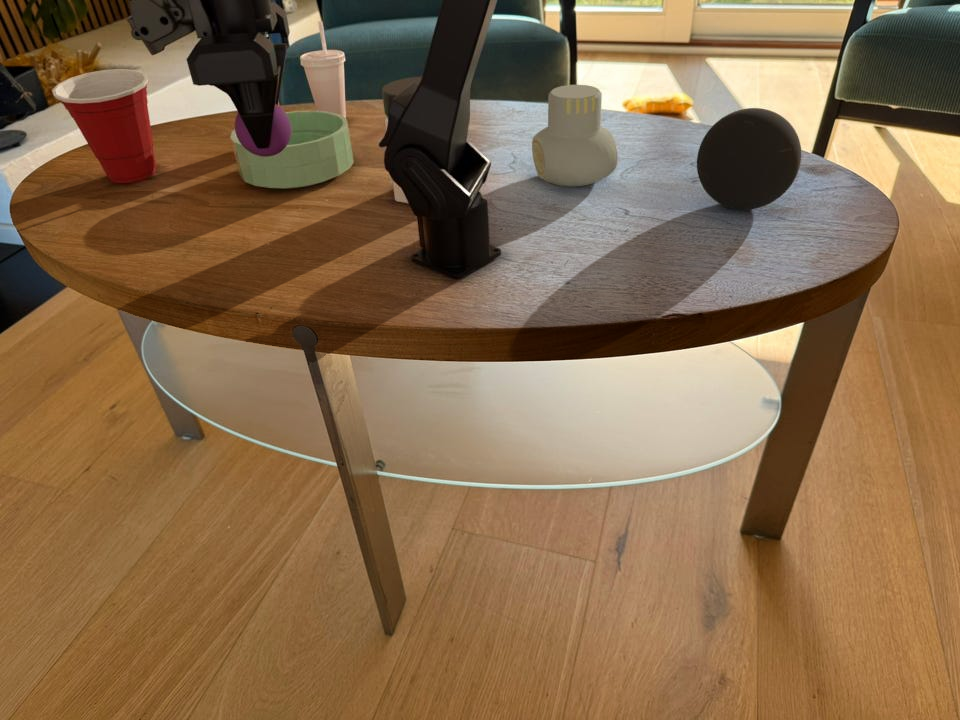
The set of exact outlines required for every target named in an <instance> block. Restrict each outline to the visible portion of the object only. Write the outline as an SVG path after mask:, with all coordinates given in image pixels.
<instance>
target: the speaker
mask: <svg viewBox="0 0 960 720" xmlns="http://www.w3.org/2000/svg"><path fill="white" fill-rule="evenodd" d="M696 157H697V158H696V171H697V176H698V179H699V182H700V184H701V187H702V188H703V189H704V191H705V193H707V195H708V196H709V197H710V198H711V199H712V200H714V201H715V202H717V203H718V204H720V205H721V206H724V207H726V208H729V209H733V210H741V211H745V210H746V211H748V210H755V209H759V208H762V207H766V206H767V205H769V204H772V203H773V202H775V201H776V200H778V199H779V198H780V197H781V196H783V195H784V194H785V193H786V192H787V191H788V190H789V189H790V187H791V186H792V184H793V183H794V182H795V179H796V177H797V175H798V174H799V173H798V172H799V171H800V167H801V163H802V145H801V141H800V138H799V135H798V133H797V131H796V129H795V128H794V127H793V125H792V124H791V123H790V122H789V121H788V120H787V118H785V117H784V116H783V115H781V114H779V113H777V112H775V111H773V110H770V109H765V108H760V107H749V108H742V109H738V110H734V111H733V112H732V111H731V112H729V113H728V114H726V115H725V116H723V117H721V118H720V119H719V120H717V121H716V122H715V123H714V124H713V125H712V126H711V127H710V128H709V129H708V130H707V132H706V133H705V135H704V137H703V138H702V141H701V142H700V144H699V148H698V151H697V156H696Z"/></svg>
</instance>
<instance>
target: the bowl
mask: <svg viewBox="0 0 960 720" xmlns="http://www.w3.org/2000/svg"><path fill="white" fill-rule="evenodd" d="M284 112H285V113H286V115H287V117H288V118H289V121H290V124H291V137H290V140H289V143H288V144H287V146H286V147H285V148H284V150H282V151H281V152H280V153H278V154H276V155H273V156H268V157H263V156H258V155H255V154H252V153H251V152H249V151H248V150H246V149H245V148H244V147H243V146H242V145H241V143H240V142H239V140H238V138H237V136H236V132H235V128H234V129H233V130H232V131H231V134H230V136H229V139H230V143H231V147H232V150H233V154H234V158H235V161H236V165H237V170H238V174H239V177H240V178H241V179H242V180H243V182H244V183H247V184H249V185H252V186H254V187H260V188H267V189H297V188H304V187H310V186H314V185H317V184H322V183H324V182H327V181H329V180H331V179H335V178H336V177H337V178H338V177H339V176H341V175H342V174H344V173H346V172H347V171H349V170H350V169H351V168H352V166H353V165H354V163H355V161H354V154H353V147H352V142H351V136H350V130H349V122H348V119H347V117H346V118H345V117H343V116H342V115H339V114H336V113H332V112H326V111H317V110H295V111H284Z"/></svg>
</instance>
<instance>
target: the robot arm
mask: <svg viewBox="0 0 960 720" xmlns="http://www.w3.org/2000/svg"><path fill="white" fill-rule="evenodd" d="M497 2H498V0H441V4H440V7H439V11H438V14H437V19H436V23H435V26H434V30H433V34H432V38H431V41H430V45H429V48H428V53H427V56H426V60H425V63H424V68H423V72H422V74H421V77H422V78H421V81H420V83H419V85H417V84H415V83H414V82H412V83H411V84H409V85H408V86H407V87H406V88H405V89H404V90H403V91H402V92H401V93H399V94H398V95H397V96H396V97H395V98H394V99H393V100H392V101H391V102H390V107H389V112H388V126H387V131H386V130H385V134H384V135H383V137H382V139H381V140H380V141H379V143H378V147H379V148H385V150H384V153H383V164H384V169H385V171H386V172H388V174H389V176H390V178H391V181H392V180H393V181H394V182H395V183H396V184H397V185H398V186H399V187H400V188H401V189H402V191H403V193H404V195H405V197H406V199H407V201H408V203H409V204H408V203H407V204H408V205H409V207H410V209H411V211H412V213H413V215H414V216H415V217H416V220H417V221H416V222H417V231H418V238H419V247H420V248H421V249H420V250H418V251H416V252H414V253H412V254H411V255H410V260H411V262H413V263H416V264H417V265H420V266H423V267H425V268H427V269H430V270H432V271H434V272H437V273H439V274H442V275H444V276H446V277H449V278H450V279H454V280H458V279H461V278H463V277H465V276H467V275H469V274H471V273H472V272H473V271H475V270H477V269H479V268H481V267H483V266H484V265H486V264H487V263H490V262H491V261H493V260H495V259H498V257H500V256H501V255H502V249H501V248H499V247H497V246H494V245H491V243H490V224H489V202H488V201H489V200H488V198H487V199H486V198H484V197H483V194H482V193H481V188H482V186H483V185H484V184H485V183H486V181H487V179H488V177H489V173H490V169H491V167H492V162H491V161H490V159H489V158H487V157H486V156H485V155H484V154H483V153H482V152H481V151H480V150H479V149H478V148H477V147H476V146H475V145H474V144H473V143H472V142H471V141H470V140H469V139H468V133H469V128H470V118H471V88H472V83H473V79H474V75H475V73H476V68H477V66H478V63H479V60H480V57H481V53H482V51H483V48H484V44H485V42H486V37H487V34H488V31H489V28H490V25H491V22H492V18H493V16H494V12H495V9H496V6H497ZM128 4H129V11H130V16H128V17H127V18H126V21H127V23H128V24H129V26H130V29H131V31H130V35H131V37H132V38H133V39H134V40H135V41H141V42H142V43H143V45H144V46H145V48H146V49H147V51H148V52H149V53H150V55H151V56H155V55H158V54H159V53H162V52H164V50H165V49H166V47H167V46H169V45H171V44H173V43H174V42H176V41H178V40H180V39H183V38H184V37H186V36H189V35H190V34H192V33H194V32H195V33H196V37H197V39H198V41H197V43H196V44H195V45H194V47H193V48H192V50H191V52H190V53H189V55H188V56H187V58H186V63H187V67H188V71H189V75H190V77H191V81H192V85H193V86H200V87H201V86H210V87H211V86H212V87H215V88H216V89H218V90H219V91H222V92H223V93H225V94H226V95H227V96H228V97H229V99H230V100H231V102H232V103H233V106H234V108H235V109H236V111H237V114H238V113H239V115H240V117H241V118H242V120H243V122H244V124H245V126H246V128H247V130H248V132H249V134H250V136H251V138H252V140H253V142H254V143H255V145H256V147H257V148H258V149H263V148H268V147H269V146H270V139H271V133H272V125H273V118H274V111H275V104H276V105H278V106H279V101H280V95H281V89H282V83H283V76H284V71H285V64H286V60H287V59H286V58H287V51H288V43H284V42H283V43H280V42H279V43H273V42H272V41H271V37H270V36H268V35H273V34H275V35H276V34H280V37H281V39H288V38H289V36H290V32H291V31H290V26H289V21H288V16H287V15H288V14H287V11H286V10H284V8H282V7H281V6H280V5H279V4H278V3H276V2H275V1H271V0H131V1H129V2H128ZM393 181H392V182H393Z"/></svg>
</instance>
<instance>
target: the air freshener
mask: <svg viewBox="0 0 960 720" xmlns="http://www.w3.org/2000/svg"><path fill="white" fill-rule="evenodd" d="M547 95H548V99H547V100H548V103H547V104H548V105H547V107H548V109H547V126H546V127H544V128H543V129H540V130H539V131H538V132H537V133H536V134H535V135H534V136H533V138H532V141H531V154H532V160H533V164H534V168H535V171H536V174H537V175H538V176H539V178H540V179H541V180H543V181H545V182H548V183H549V184H552V185H555V186H559V187H570V188H571V187H574V188H575V187H576V188H577V187H585V186H589V185H592V184H596V183H599V182H601V181H602V180H604V179H605V178H607V177H609V176H610V175H611V174H612V173H613V172H614V171H615V170H616V169H617V166H618V160H619V159H618V156H619V155H618V148H617V144H616V141H615V138H614V136H613V134H612V133H611V131H610V130H609V129H607V128H606V127H604V126H603V125H602V99H603V94H602V91H601V90H600V88H597V87H596V86H593V85H587V84H567V85H560V86H557V87H555V88H553V89H552V90H550V92H549V93H548V94H547Z"/></svg>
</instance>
